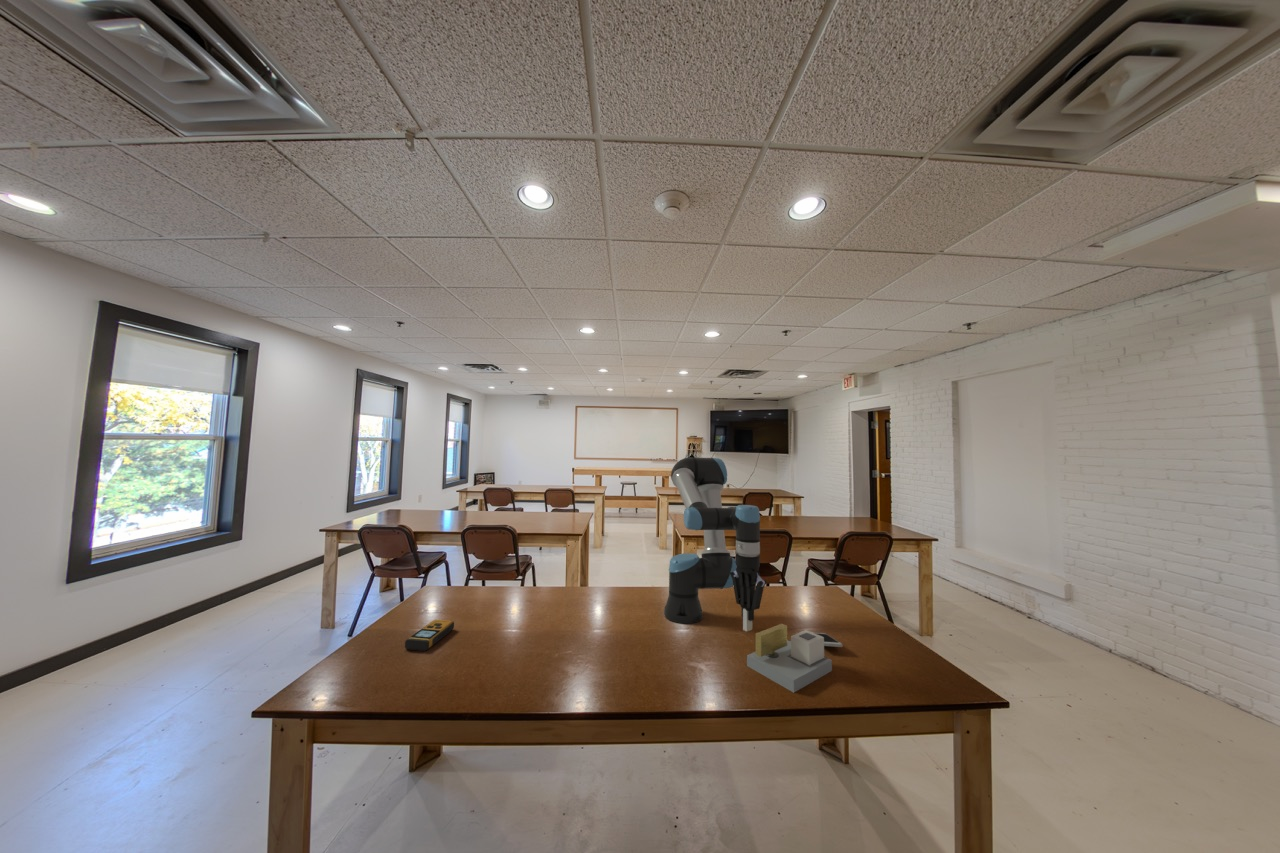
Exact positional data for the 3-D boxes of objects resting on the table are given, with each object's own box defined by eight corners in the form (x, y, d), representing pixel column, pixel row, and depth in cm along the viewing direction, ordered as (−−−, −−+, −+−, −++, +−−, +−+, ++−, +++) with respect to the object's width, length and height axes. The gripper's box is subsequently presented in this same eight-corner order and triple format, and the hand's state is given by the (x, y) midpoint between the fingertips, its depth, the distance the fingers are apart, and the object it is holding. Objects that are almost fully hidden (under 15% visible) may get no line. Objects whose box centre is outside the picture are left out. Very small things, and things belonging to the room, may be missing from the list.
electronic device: (455, 629, 141) (456, 619, 141) (428, 651, 126) (428, 640, 126) (433, 627, 142) (433, 617, 142) (403, 649, 126) (404, 638, 127)
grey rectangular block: (791, 656, 121) (791, 635, 121) (806, 649, 126) (805, 629, 126) (809, 665, 116) (809, 643, 116) (824, 657, 121) (823, 636, 121)
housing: (747, 667, 121) (747, 654, 121) (785, 649, 132) (785, 638, 133) (793, 693, 108) (793, 679, 108) (832, 672, 119) (831, 659, 120)
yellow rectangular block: (761, 661, 117) (761, 636, 118) (755, 658, 119) (755, 633, 119) (787, 649, 125) (787, 625, 125) (781, 646, 126) (781, 623, 127)
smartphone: (820, 645, 129) (820, 642, 130) (805, 634, 144) (805, 631, 144) (843, 647, 129) (842, 644, 129) (825, 635, 144) (825, 632, 144)
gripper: (724, 551, 131) (724, 625, 129) (756, 559, 120) (756, 640, 119) (739, 548, 135) (739, 620, 133) (772, 556, 125) (772, 634, 123)
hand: (747, 629), depth 126 cm, fingers closed
